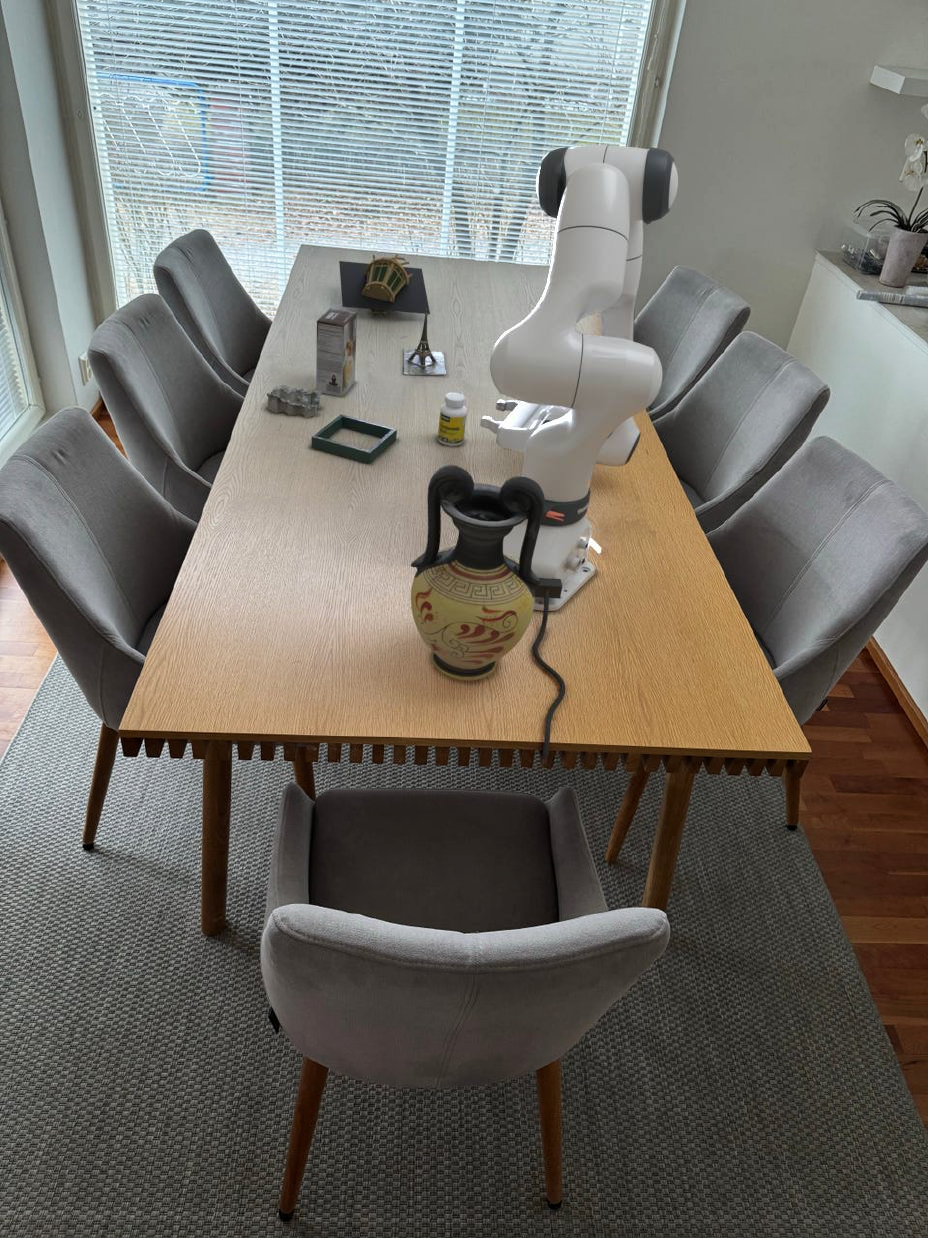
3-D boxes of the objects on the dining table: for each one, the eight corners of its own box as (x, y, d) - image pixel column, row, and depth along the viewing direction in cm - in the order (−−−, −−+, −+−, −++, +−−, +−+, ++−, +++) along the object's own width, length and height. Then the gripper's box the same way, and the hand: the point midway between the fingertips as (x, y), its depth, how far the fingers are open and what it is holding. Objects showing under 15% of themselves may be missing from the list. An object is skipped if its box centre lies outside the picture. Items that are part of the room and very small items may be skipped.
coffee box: (328, 377, 213) (329, 306, 203) (355, 382, 212) (358, 311, 203) (315, 392, 205) (316, 319, 196) (343, 397, 205) (345, 325, 195)
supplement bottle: (433, 443, 191) (438, 398, 185) (441, 432, 196) (446, 388, 190) (459, 448, 190) (464, 403, 185) (466, 438, 195) (471, 394, 189)
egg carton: (264, 412, 195) (263, 393, 192) (275, 398, 201) (274, 379, 198) (314, 419, 194) (314, 401, 192) (323, 405, 200) (324, 387, 198)
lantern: (338, 330, 248) (335, 266, 266) (423, 343, 254) (414, 280, 272) (345, 285, 238) (342, 222, 256) (434, 300, 244) (424, 237, 262)
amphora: (519, 628, 143) (551, 450, 125) (529, 702, 129) (566, 513, 112) (404, 621, 141) (420, 439, 124) (402, 694, 128) (419, 502, 110)
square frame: (369, 464, 181) (370, 453, 179) (311, 447, 184) (311, 436, 182) (396, 439, 191) (397, 429, 189) (340, 424, 193) (340, 414, 192)
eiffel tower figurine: (446, 377, 220) (452, 321, 212) (403, 374, 219) (408, 317, 211) (443, 353, 232) (448, 299, 224) (402, 350, 231) (406, 296, 223)
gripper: (572, 396, 189) (508, 380, 192) (543, 433, 173) (474, 415, 176) (567, 424, 193) (504, 409, 196) (538, 464, 177) (470, 445, 180)
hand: (489, 412), depth 186 cm, fingers open, 8 cm apart
